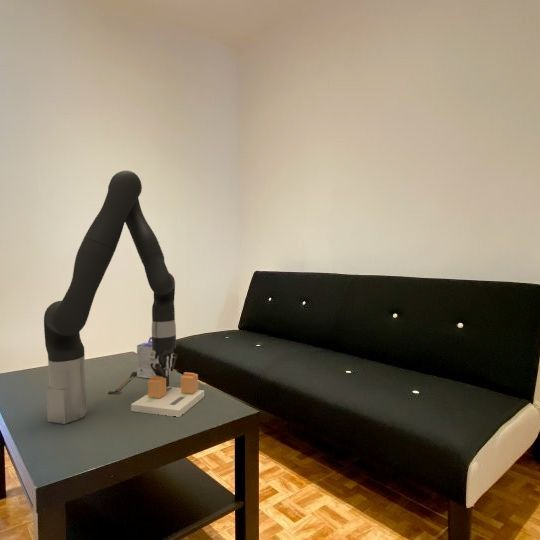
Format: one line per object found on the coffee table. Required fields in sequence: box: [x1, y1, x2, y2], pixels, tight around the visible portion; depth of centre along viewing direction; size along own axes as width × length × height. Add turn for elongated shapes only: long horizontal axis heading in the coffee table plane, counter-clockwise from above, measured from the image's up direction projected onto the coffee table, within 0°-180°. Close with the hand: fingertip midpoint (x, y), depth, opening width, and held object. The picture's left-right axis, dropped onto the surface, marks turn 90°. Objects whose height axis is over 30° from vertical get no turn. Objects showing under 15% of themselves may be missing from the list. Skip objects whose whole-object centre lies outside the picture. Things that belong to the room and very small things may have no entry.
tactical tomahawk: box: [107, 371, 137, 395], centre depth 140 cm, size 21×7×1 cm, turn 178°
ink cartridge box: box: [136, 336, 160, 379], centre depth 147 cm, size 10×6×14 cm, turn 71°
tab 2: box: [180, 371, 199, 394], centre depth 125 cm, size 4×4×6 cm
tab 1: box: [147, 376, 167, 398], centre depth 122 cm, size 4×4×6 cm
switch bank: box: [130, 386, 205, 418], centre depth 121 cm, size 16×16×2 cm
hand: (165, 386), depth 127 cm, fingers closed
